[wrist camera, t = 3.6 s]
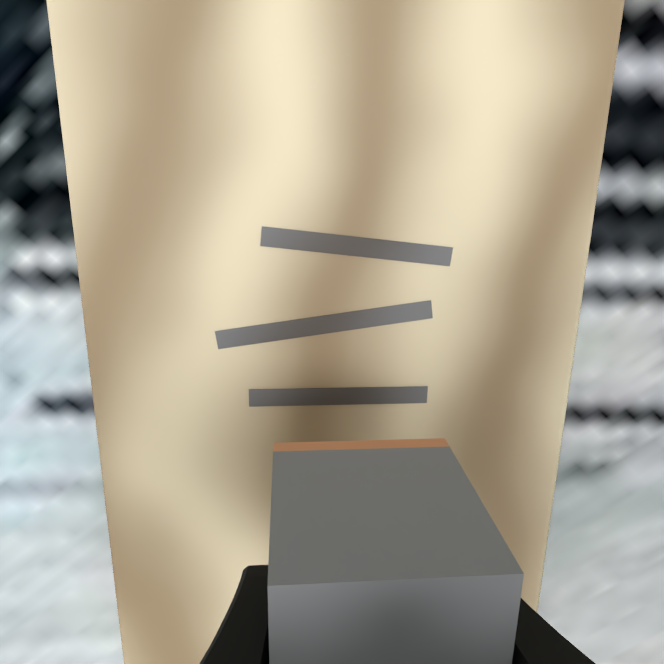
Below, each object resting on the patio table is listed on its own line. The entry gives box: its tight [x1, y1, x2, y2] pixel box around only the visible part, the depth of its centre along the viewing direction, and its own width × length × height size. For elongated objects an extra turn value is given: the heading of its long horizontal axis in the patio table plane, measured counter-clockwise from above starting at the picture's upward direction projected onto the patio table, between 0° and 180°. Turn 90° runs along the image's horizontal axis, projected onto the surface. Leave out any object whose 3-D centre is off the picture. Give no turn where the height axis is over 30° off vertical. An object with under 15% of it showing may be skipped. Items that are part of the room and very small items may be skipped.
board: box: [47, 0, 624, 664], centre depth 19 cm, size 16×26×2 cm, turn 179°
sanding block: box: [267, 438, 524, 664], centre depth 12 cm, size 4×7×4 cm, turn 0°
